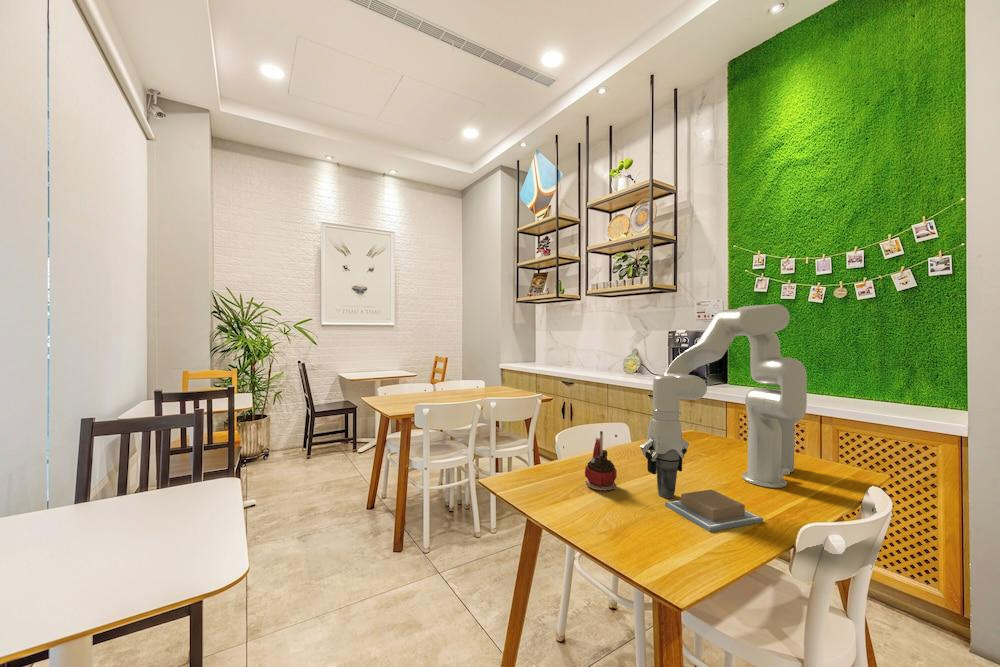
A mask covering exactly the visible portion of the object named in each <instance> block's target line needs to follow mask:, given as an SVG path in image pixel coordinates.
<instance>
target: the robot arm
mask: <svg viewBox="0 0 1000 667" xmlns="http://www.w3.org/2000/svg"><path fill="white" fill-rule="evenodd" d="M790 320H791V316H790V312H789V310H788V308H786V307H785V306H783V305H782V304H779V303H778V304H775V303H774V304H759V305H758V304H755V305H745V306H740V307H738V308H734V309H732V308H730V309H723V310H720V311H718V312H717V313H716V314H715V315H714V316H713V318H711V321H710V322H709V323H708V325H707V326H706V329H705V330H704V332H703V333H702V334H701V336H700V338H699V339H698V341H697V342H696V343H695V344H694V345H692V346H691V347H689V348H688V349H686V350H684V351H683V352H682V353H681V354H680V355H678V356H677V357H675V359H674V360H672V362H671V363H670V364H669V366H668V368H667V369H666V371H665V372H664V374H659V375H655V376H654V378H653V381H652V383H653V384H652V418H651V419H650V420H649V424H648V428H647V436H646V441H645V442H644V443H643V444H641V445H640V449H641V451H642V454H643V456H644V457H645V458H646V459H647V472H648V473H650V474H652V475H657V471H656V461H655V459H656V457H657V456H658V454H665V453H667V452H668V451H669V450H672V449H674V450H676V451H677V452H678V454H679V458H680V461H679V465H678V468H677V472H678V471H679V472H682V471H683V459H684V458H685V454H686V453H687V452H688V450H687V449H688V448H689V446H690V442H688V441H686V440H684V439H683V432H682V431H683V428H682V424H681V423H682V422H681V420H680V416H681V415H682V412H681V411H680V400H691V401H695V400H699V399H702V398H703V397H704V396H705V395H706V394H707V391H708V385H707V383H706V381H705V380H704V379H703V378H701V376H697V375H694V374H690V373H691V372H692V371H694V370H696V369H697V368H699V367H702V366H704V365H708V364H711V363H713V362H714V363H715V362H717V361H719V360H721V359H722V358H723V357H724V355H725V354H726V352H727V351H728V349H729V347H730V346H731V345H732V342H734V339H735V338H736V337H738V336H739V337H740V336H743V337H745V336H746V337H747V339H748V342H749V349H750V350H749V351H750V355H749V356H750V357H749V358H750V361H749V362H750V364H749V366H750V377H751V378H752V379H751V380H753V381H754V382H756V383H758V384H761V385H767V386H768V385H769V386H774V387H776V386H777V387H780V389H777V388H776V389H775V388H768V387H755V388H752V389H750V390H749V391H748V392H747V393H746V395H745V398H744V404H745V410H746V414H747V428H748V430H747V431H748V433H747V471H745V472H743V473H742V479H743V480H744V481H746V482H747V483H750V484H753V485H756V486H760V487H765V488H771V489H772V488H773V489H780V488H786V487H787V485H788V484H787V483H788V482H787V480H786V479H785V478H783V476H787V475H790V474H791V473H790V470H789V469H781V451H782V431H781V427H780V424H779V422H778V420H777V419H779V420H783V421H788V422H795V423H797V422H799V421H801V420H802V419H804V417H805V415H806V412H807V405H808V404H807V401H808V400H807V399H808V398H807V397H808V396H807V394H808V392H807V387H808V386H807V385H808V384H807V383H808V380H807V378H808V376H807V370H806V368H805V366H804V364H803V363H802V362H801V361H800V360H799V359H796V358H794V357H785V356H784V357H782V354H781V343H780V339H779V337H778V335H777V332H779V331H782V330H784V329H785V328H786V327H787V326H788V325H789V322H790Z"/></svg>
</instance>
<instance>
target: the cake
mask: <svg viewBox="0 0 1000 667" xmlns="http://www.w3.org/2000/svg"><path fill="white" fill-rule="evenodd" d="M603 433H604V432H603V431H602V430H600V432H599V437H596V438H595V443H594V447H593V452H592V453H593V454H592V457H591V459H590V461H589V462H588V463H587V465H586V466H585V468H584V469H585V470H584V476H585V478H587V479H586V480H585V485H586V486H587V487H588V488H592V489H594V490H596V491H597V490H598V491H610V490H611V491H612V490H615V489H616V487H617V483H616V482H615V480H616V479H617V472H618V471H617V469H616V467H615V464H614V463H613V462H612V461H611V459H608V450H605V449H603V444H604V443H603V439H604V438H603V437H604V436H603V435H604V434H603Z"/></svg>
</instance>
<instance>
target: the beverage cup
mask: <svg viewBox="0 0 1000 667" xmlns="http://www.w3.org/2000/svg"><path fill="white" fill-rule="evenodd" d="M655 461H656V482H657V483H656V484H657V485H656V488H657V495H658V496H659V495H660V496H659V497H661V498H665V499H673V498H675V492H676V486H677V476H678V470H677V468H678V465H679V461H680V458H679V454H678V452H677V451H676V450H674V449H672V450H669V451H668V452H667V453H665V454H658V456H657V457H656V459H655Z"/></svg>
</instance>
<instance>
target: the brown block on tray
mask: <svg viewBox="0 0 1000 667" xmlns="http://www.w3.org/2000/svg"><path fill="white" fill-rule="evenodd" d="M680 495H681V498H680V499H677V500H671V501H665V503H664V506H665V507H666V508H669V509H670V510H672V511H674V512H675V513H677V514H679V515H680V516H682V517H683V516H684V518H686V519H687V520H688V521H690V520H691V523H694V524H696V525H697V526H699V527H700V526H701V528H702V529H704V530H705V531H707V532H709V533H711V531H712V532H717V530H718V531H721V530H722V529H723V530H726V529H727V528H728V529H732V528H733V527H734V528H739V527H745V526H749V524H750V525H754V524H753V523H755V524H759V523H758V522H761V523H763V522H764V517H761V516H760V515H757V514H755V513H753V512H751V511H748V510H747V509H746V507H745V506H746V505H745V504H744V503H742V502H740V501H737V500H735V499H734V498H730V497H729V496H727V495H724V494H722V493H720V492H718V491H716V490H714V489H707V490H706V489H705V490H700V491H692V492H685V493H681V494H680ZM728 529H727V530H728ZM723 530H722V531H723Z"/></svg>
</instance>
